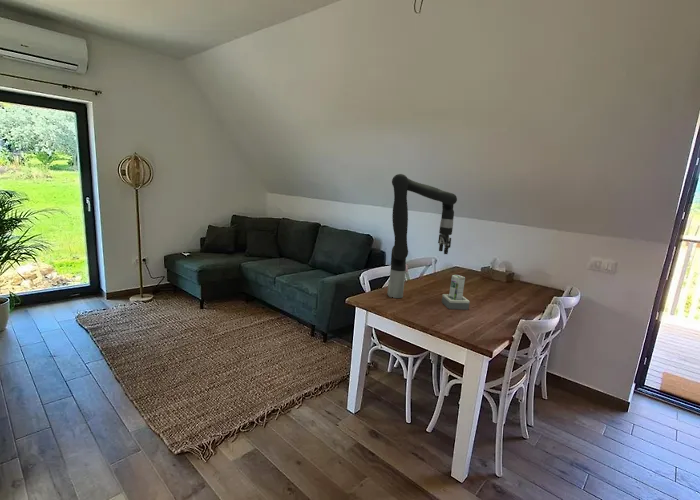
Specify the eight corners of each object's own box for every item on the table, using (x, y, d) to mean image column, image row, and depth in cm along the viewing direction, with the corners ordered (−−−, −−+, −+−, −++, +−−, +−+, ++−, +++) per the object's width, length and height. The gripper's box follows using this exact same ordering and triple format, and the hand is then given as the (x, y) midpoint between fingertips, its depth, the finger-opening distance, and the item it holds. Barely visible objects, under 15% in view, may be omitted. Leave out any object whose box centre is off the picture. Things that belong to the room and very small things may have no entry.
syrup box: (448, 298, 224) (451, 275, 221) (455, 297, 226) (459, 274, 224) (454, 301, 219) (457, 277, 216) (462, 300, 221) (465, 277, 219)
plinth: (449, 309, 217) (450, 300, 216) (441, 302, 228) (442, 294, 227) (468, 309, 218) (469, 301, 217) (460, 302, 230) (461, 294, 229)
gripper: (436, 224, 230) (433, 250, 234) (444, 227, 217) (441, 254, 220) (447, 225, 231) (444, 250, 235) (456, 228, 218) (453, 255, 221)
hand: (443, 252), depth 227 cm, fingers open, 8 cm apart
